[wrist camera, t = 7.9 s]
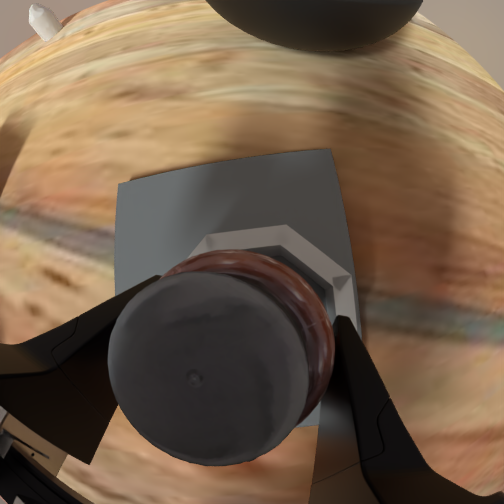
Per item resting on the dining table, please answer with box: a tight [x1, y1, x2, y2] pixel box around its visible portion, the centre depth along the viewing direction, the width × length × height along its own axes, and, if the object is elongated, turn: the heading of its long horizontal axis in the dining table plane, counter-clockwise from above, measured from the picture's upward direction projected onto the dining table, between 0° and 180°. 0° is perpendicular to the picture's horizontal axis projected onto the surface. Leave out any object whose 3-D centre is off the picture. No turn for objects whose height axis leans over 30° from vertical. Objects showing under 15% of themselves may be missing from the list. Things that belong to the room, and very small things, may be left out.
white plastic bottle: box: [29, 3, 63, 42], centre depth 27 cm, size 6×12×6 cm
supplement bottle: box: [108, 249, 335, 466], centre depth 10 cm, size 6×6×11 cm
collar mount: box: [114, 149, 362, 428], centre depth 16 cm, size 18×16×4 cm
